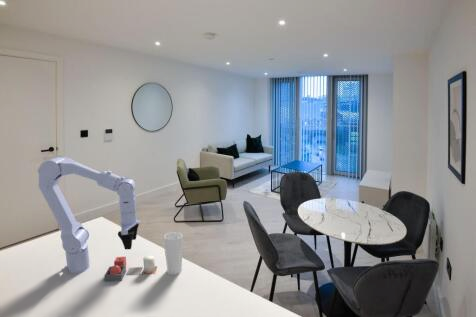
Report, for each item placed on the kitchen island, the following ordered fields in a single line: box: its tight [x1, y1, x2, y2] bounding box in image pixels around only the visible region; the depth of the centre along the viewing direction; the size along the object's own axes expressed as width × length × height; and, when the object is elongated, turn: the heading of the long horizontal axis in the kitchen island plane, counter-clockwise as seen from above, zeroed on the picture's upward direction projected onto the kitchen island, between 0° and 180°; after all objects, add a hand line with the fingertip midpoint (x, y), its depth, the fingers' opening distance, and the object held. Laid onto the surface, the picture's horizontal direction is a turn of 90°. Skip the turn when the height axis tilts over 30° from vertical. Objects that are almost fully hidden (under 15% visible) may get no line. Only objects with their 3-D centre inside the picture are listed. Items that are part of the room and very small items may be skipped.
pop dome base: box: [104, 265, 127, 282], centre depth 109 cm, size 6×6×2 cm
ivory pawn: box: [142, 254, 156, 273], centre depth 112 cm, size 4×4×5 cm
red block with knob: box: [113, 256, 127, 267], centre depth 115 cm, size 3×3×4 cm
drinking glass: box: [163, 231, 184, 276], centre depth 112 cm, size 7×7×15 cm
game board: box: [125, 265, 158, 276], centre depth 112 cm, size 17×12×1 cm
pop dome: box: [110, 265, 121, 274], centre depth 108 cm, size 4×4×3 cm
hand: (130, 244), depth 115 cm, fingers open, 7 cm apart
